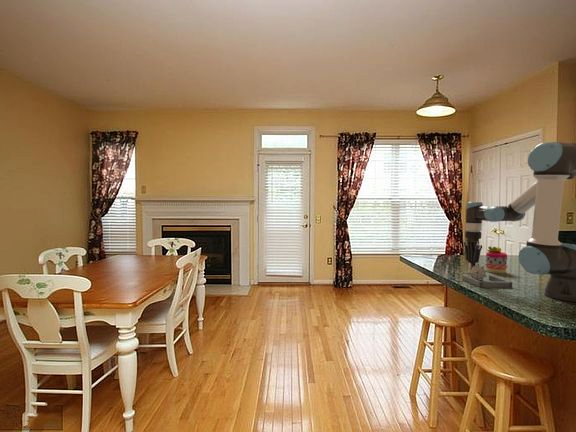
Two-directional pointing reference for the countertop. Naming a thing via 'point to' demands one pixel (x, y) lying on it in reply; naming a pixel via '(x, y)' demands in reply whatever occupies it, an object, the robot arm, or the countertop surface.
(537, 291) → the countertop surface
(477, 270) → the translucent lumpy piece
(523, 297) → the countertop surface
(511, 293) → the countertop surface
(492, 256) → the cake
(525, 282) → the countertop surface
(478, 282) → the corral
